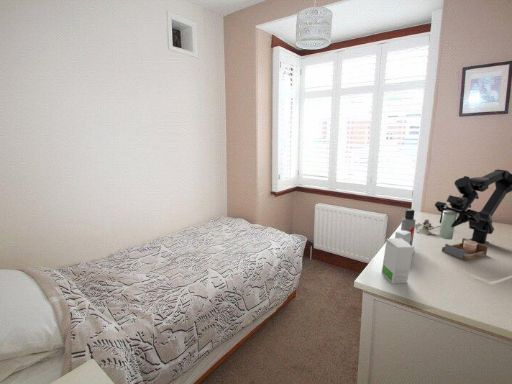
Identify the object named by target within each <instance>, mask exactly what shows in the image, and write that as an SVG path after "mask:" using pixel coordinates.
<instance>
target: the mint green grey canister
mask: <svg viewBox="0 0 512 384" xmlns="http://www.w3.org/2000/svg"><path fill="white" fill-rule="evenodd" d="M457 215H458V213H457V212H456V211H452V210H443V215H442V221H441V223H440V226H441V227H439V235H438V237H439V238H440V239H443V240H447V241H448V240H453V238H454V233H455V227H456V226H455V227H452V224H453V223H454V222H455V220H456V219H457V217H458V216H457Z"/></svg>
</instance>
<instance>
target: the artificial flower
mask: <svg viewBox="0 0 512 384" xmlns="http://www.w3.org/2000/svg"><path fill="white" fill-rule="evenodd" d="M440 227H441V225H438V226H436V225H434V224H433V225H432V223H430V219H424V221H423V223H420V222H418V223H415V228H414V230H416V231H418V232H419V234H420V235H429V234H430V231H431V230H433V229H436V228H440Z"/></svg>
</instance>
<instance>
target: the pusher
mask: <svg viewBox="0 0 512 384" xmlns="http://www.w3.org/2000/svg"><path fill="white" fill-rule="evenodd" d="M451 245H452V244H448V243H445V245H444V247H445V250H444V252H443V253H445V252H447V253H449V254H451V255H450V256H452V255H454V256H456V257H455V258H457V257H458V258H457V259H459V258H461V259H463V258H464V254H465V251H464V250H461V249H458V248H456V247H453V246H451ZM447 253H446V254H447ZM449 254H448V255H449ZM454 256H453V257H454ZM461 259H460V260H461Z"/></svg>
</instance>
